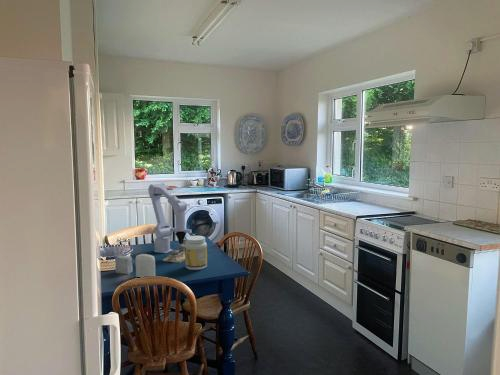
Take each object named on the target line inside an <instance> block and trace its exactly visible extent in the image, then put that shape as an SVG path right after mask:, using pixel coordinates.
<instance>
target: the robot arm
mask: <svg viewBox="0 0 500 375" xmlns="http://www.w3.org/2000/svg"><path fill="white" fill-rule="evenodd" d="M147 190H148V195H149V198H150V199H151V200H150V201H151V203H152V206H153V207H152V208H153V212H154V214H155V219H156V223H157V224H156V225H155V227H154V235H155V237H156V238H155V239H154V242H153V243H154V244H153V245H154V251H153V252H154V253H160V254H168V253H171V251H173V250H174V249H173V248H171V240H170V239H171V236H172V235H173V232H175V233H174V235H175V236H176V238H177V240H178V243H179V244H184V242H185V241H184V240H185V237H186V235H187V234H191V233H193V232H192V229H190V228H186V211H187V208H188V206H187V203H186V202H185V201H183V200H182V201H181V200H180V199H179V198H178V197H177V196H176V194H175V195H174V194H171V192H170V191H169V190H168V189H167V185H166V184H165V183H164V182H163V183H155V184H150V185H149V186H148V189H147ZM163 197H165V198H166V199H167V202H168V203H169V205H170V206H171V207H172V210H173V212H174V215H175V227H171V224H170V223H169V222H166V218H165V214H164V210H163V207H162V203H161V198H163ZM179 244H178V245H179Z"/></svg>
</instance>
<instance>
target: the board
mask: <svg viewBox="0 0 500 375" xmlns="http://www.w3.org/2000/svg"><path fill="white" fill-rule="evenodd" d="M177 250H178V251H179V249H177ZM184 261H185V248H183V252H179V253H178V254H177V255H173V254H171V253H170V254H167V257H165V258H163V259H162V262H171V263H179V264H181V263H182V262H184Z"/></svg>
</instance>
